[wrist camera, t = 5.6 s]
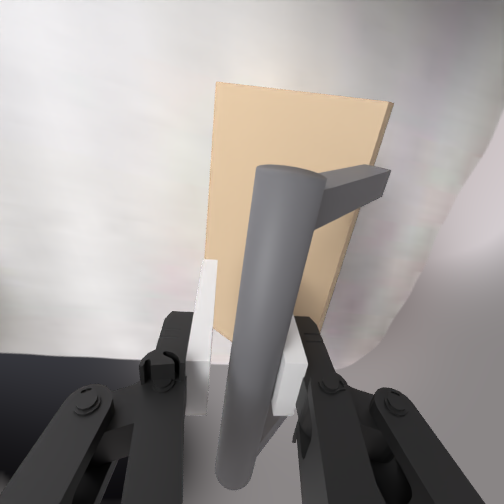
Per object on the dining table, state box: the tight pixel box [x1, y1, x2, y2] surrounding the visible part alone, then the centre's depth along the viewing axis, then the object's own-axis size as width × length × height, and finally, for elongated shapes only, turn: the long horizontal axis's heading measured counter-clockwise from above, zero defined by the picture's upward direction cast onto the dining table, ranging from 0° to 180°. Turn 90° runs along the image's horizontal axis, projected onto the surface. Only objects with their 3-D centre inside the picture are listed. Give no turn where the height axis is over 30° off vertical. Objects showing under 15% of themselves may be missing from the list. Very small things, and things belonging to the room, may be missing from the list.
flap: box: [205, 82, 394, 490], centre depth 16 cm, size 18×12×9 cm
